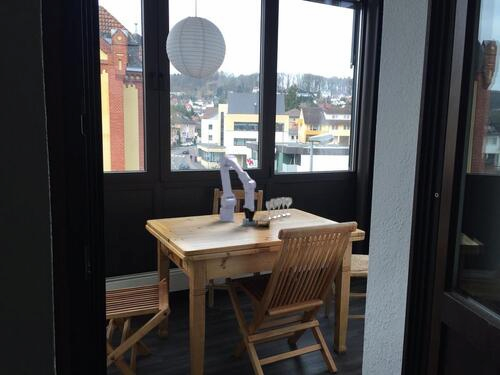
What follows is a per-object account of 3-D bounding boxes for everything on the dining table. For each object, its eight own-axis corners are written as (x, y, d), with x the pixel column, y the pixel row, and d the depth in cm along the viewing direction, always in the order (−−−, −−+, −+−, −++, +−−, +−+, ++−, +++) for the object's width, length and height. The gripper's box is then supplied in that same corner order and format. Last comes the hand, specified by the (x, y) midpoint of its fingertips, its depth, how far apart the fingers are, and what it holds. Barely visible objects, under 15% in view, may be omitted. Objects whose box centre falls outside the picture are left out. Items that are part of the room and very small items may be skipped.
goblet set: (270, 219, 289) (270, 200, 287) (263, 218, 292) (264, 199, 291) (293, 214, 310) (293, 196, 309) (286, 213, 314) (287, 195, 312)
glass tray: (244, 226, 265) (244, 220, 265) (242, 224, 270) (242, 218, 270) (255, 225, 267) (255, 219, 267) (252, 224, 272) (253, 218, 272)
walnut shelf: (256, 228, 261) (256, 220, 260) (256, 222, 278) (256, 215, 277) (269, 228, 261) (269, 220, 260) (268, 222, 278) (269, 215, 277)
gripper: (240, 197, 273) (240, 218, 274) (246, 201, 259) (246, 222, 260) (250, 197, 275) (250, 217, 276) (257, 200, 261) (257, 222, 262)
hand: (249, 220), depth 268 cm, fingers open, 7 cm apart
